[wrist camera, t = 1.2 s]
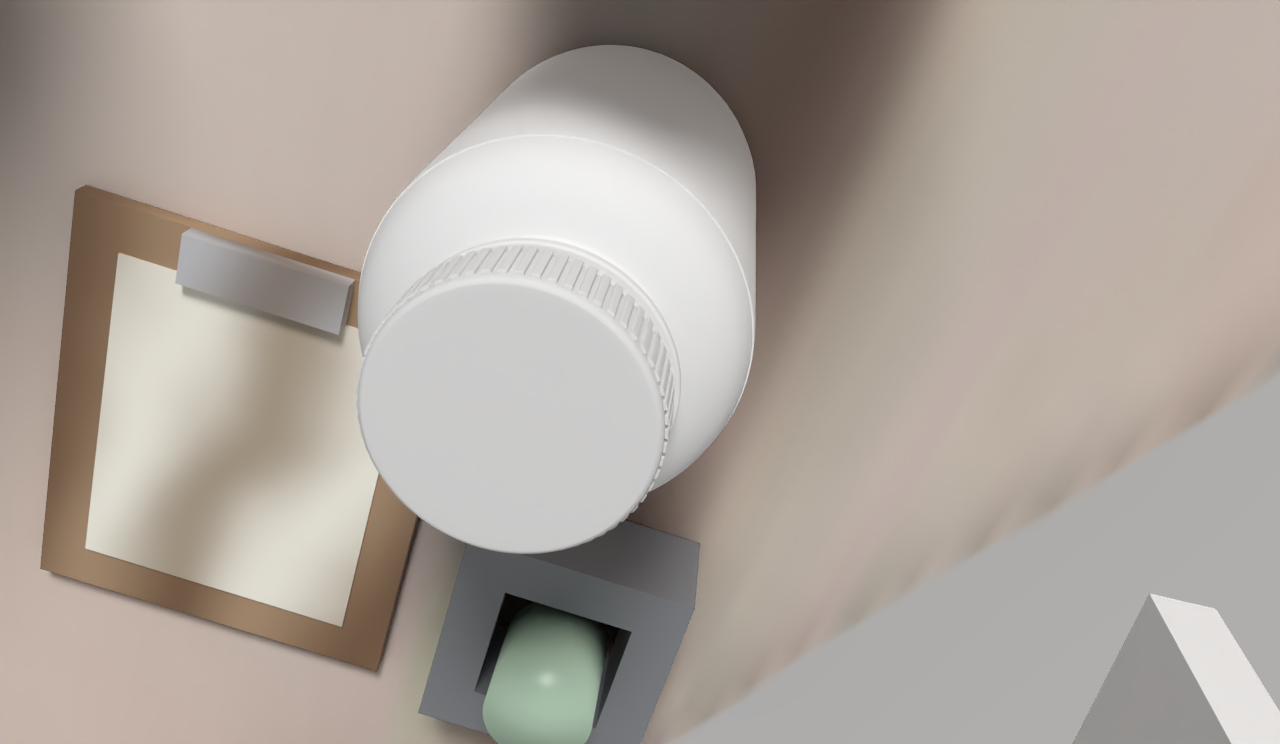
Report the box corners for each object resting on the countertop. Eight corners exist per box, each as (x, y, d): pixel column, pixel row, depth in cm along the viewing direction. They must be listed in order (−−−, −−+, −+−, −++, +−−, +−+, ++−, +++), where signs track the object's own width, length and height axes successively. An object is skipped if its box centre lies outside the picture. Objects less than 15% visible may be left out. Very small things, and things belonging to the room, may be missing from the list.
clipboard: (50, 559, 40) (30, 578, 38) (86, 185, 34) (63, 195, 33) (381, 660, 40) (371, 682, 39) (473, 308, 34) (464, 323, 33)
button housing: (445, 644, 40) (418, 712, 36) (493, 479, 37) (468, 537, 33) (637, 703, 40) (626, 776, 37) (699, 543, 37) (694, 608, 34)
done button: (495, 665, 37) (470, 742, 33) (520, 587, 35) (497, 659, 32) (590, 694, 37) (575, 773, 33) (619, 618, 35) (605, 692, 32)
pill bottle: (440, 252, 34) (227, 519, 20) (535, -9, 30) (357, 97, 17) (686, 357, 34) (641, 684, 21) (805, 112, 31) (844, 310, 17)
